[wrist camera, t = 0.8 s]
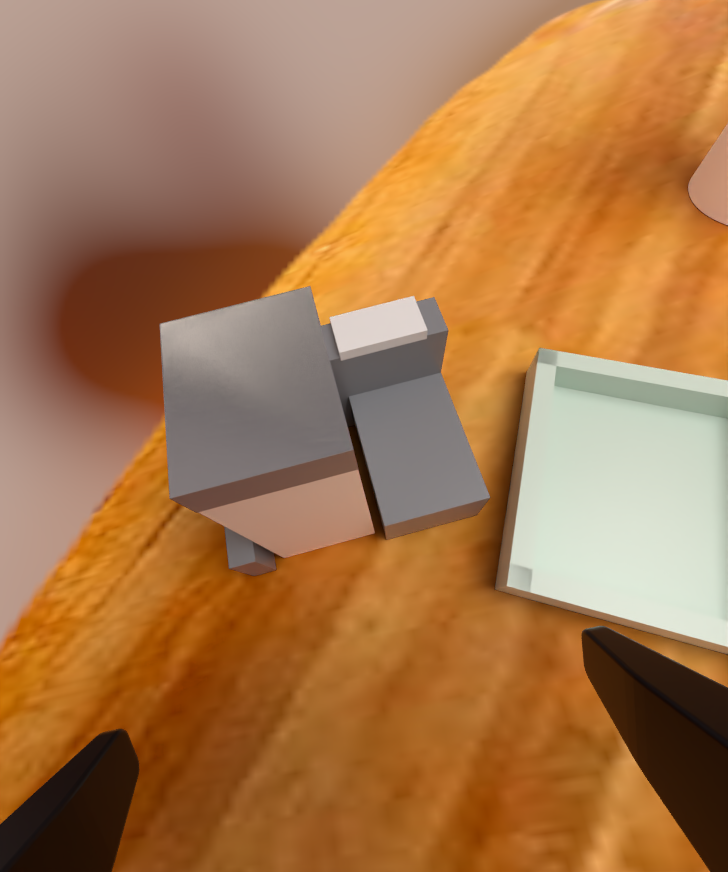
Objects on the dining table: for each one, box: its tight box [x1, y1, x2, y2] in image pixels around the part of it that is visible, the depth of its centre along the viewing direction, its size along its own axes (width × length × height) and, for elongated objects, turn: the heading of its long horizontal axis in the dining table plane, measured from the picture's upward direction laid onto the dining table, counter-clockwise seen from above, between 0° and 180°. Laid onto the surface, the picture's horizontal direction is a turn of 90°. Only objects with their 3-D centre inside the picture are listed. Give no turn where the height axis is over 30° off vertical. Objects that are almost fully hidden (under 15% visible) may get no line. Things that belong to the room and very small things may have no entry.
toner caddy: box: [160, 286, 375, 558], centre depth 18 cm, size 6×5×12 cm
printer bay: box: [224, 296, 490, 576], centre depth 20 cm, size 9×12×7 cm
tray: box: [495, 348, 728, 655], centre depth 21 cm, size 13×12×2 cm
